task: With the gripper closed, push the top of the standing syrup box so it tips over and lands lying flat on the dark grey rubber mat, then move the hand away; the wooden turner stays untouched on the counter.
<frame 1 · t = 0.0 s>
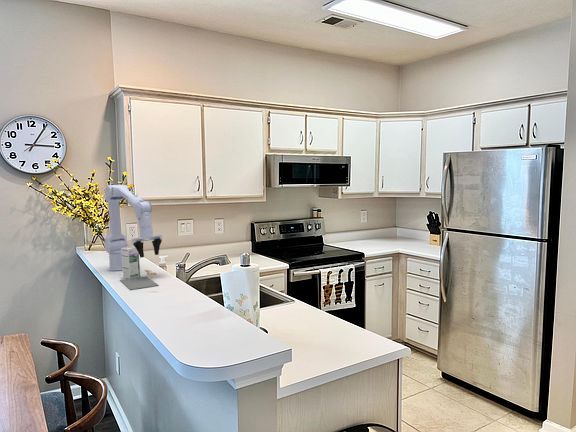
hand: (149, 256, 195), 11 cm above the counter, tool pointing down, fingers open, 7 cm apart
syrup box: (131, 277, 198), on the counter
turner: (149, 272, 207), on the counter
mat: (138, 283, 187), on the counter
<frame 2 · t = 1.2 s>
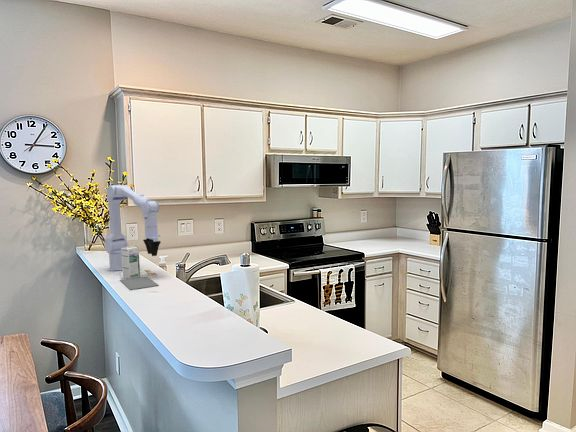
hand: (152, 254, 199), 10 cm above the counter, tool pointing down, fingers open, 6 cm apart
nothing on the counter moved.
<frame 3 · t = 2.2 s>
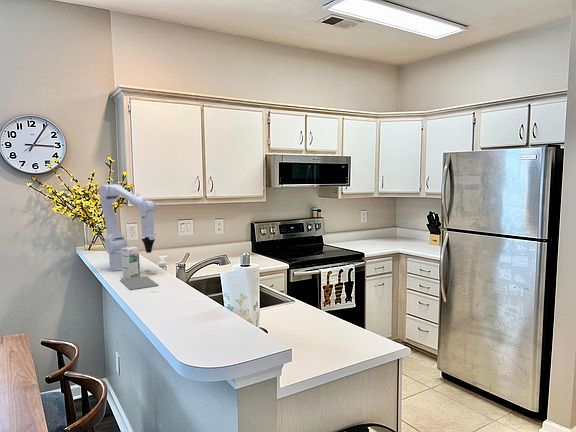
hand: (148, 252, 206), 10 cm above the counter, tool pointing down, fingers closed
nothing on the counter moved.
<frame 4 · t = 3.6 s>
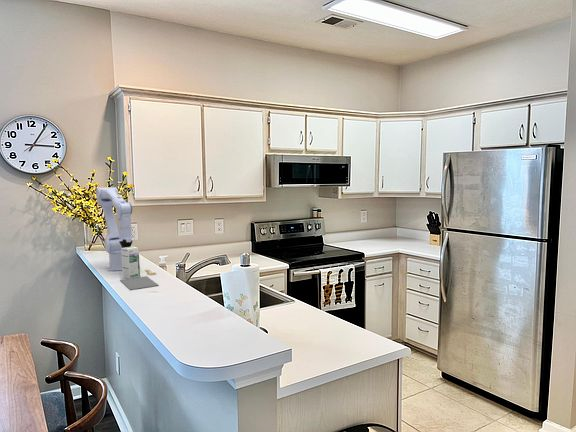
hand: (126, 255, 204), 9 cm above the counter, tool pointing down, fingers closed
nothing on the counter moved.
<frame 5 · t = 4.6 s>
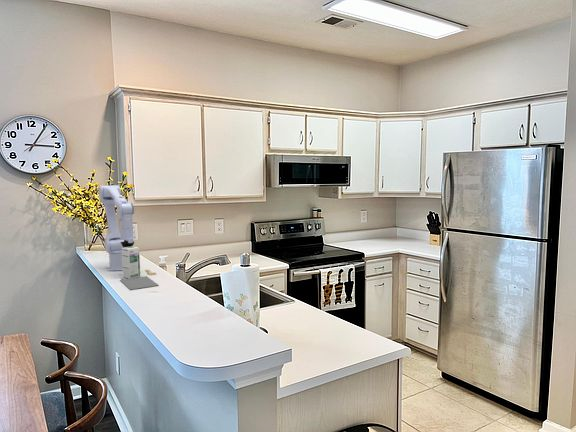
hand: (128, 256, 202), 9 cm above the counter, tool pointing down, fingers closed
nothing on the counter moved.
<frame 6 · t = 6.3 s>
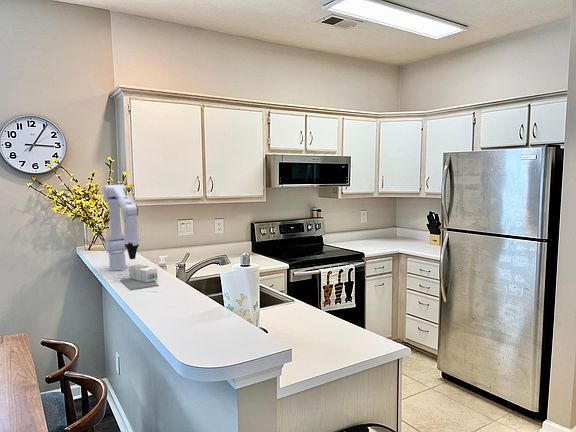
hand: (132, 259, 194), 9 cm above the counter, tool pointing down, fingers closed
syrup box: (134, 271, 196), point 3 cm above the counter, touching mat
everything else where it was.
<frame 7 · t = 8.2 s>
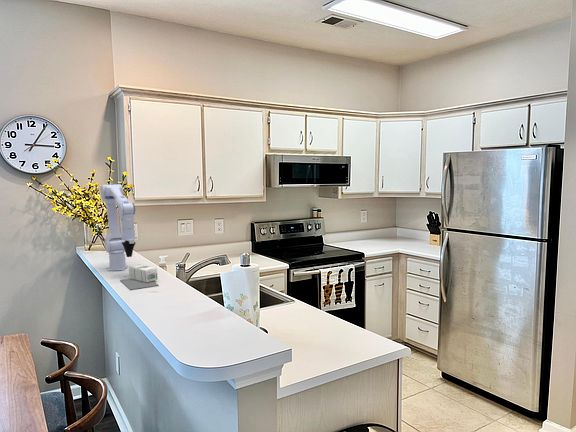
hand: (129, 256, 199), 10 cm above the counter, tool pointing down, fingers closed
nothing on the counter moved.
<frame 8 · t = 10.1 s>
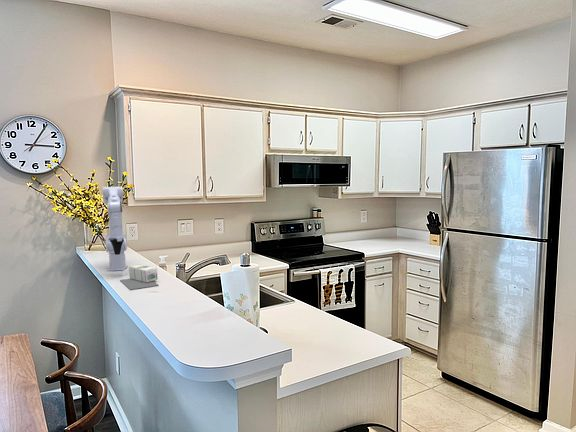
hand: (117, 254, 201), 10 cm above the counter, tool pointing down, fingers closed
nothing on the counter moved.
at the end: syrup box tilted 90°; syrup box 11.5 cm from the mat (horizontally) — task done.
